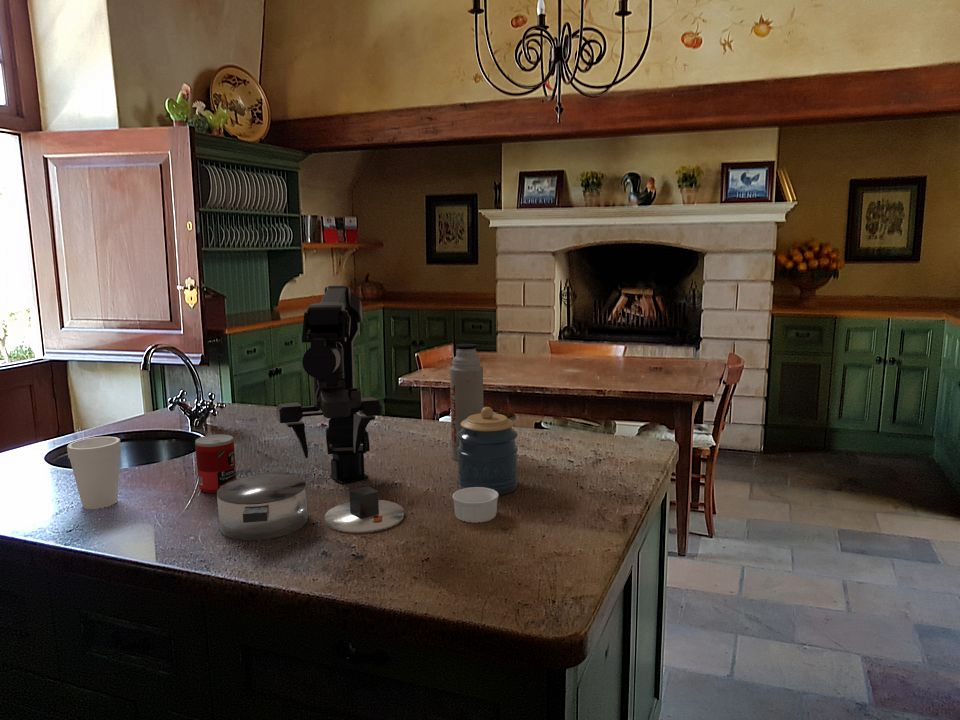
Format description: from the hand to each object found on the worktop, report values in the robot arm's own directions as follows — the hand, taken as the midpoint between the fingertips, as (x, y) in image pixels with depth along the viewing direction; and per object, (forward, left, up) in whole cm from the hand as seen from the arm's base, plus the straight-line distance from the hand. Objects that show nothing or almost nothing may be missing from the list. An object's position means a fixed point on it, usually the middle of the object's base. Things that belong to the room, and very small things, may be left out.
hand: (331, 455), depth 133 cm
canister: (-34, +4, -13) cm, 37 cm away
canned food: (+11, -34, -13) cm, 38 cm away
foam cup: (+33, -40, -13) cm, 53 cm away
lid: (-5, +2, -14) cm, 15 cm away
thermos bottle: (-44, -16, -13) cm, 49 cm away
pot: (+11, -8, -13) cm, 19 cm away
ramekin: (-22, +15, -13) cm, 30 cm away
